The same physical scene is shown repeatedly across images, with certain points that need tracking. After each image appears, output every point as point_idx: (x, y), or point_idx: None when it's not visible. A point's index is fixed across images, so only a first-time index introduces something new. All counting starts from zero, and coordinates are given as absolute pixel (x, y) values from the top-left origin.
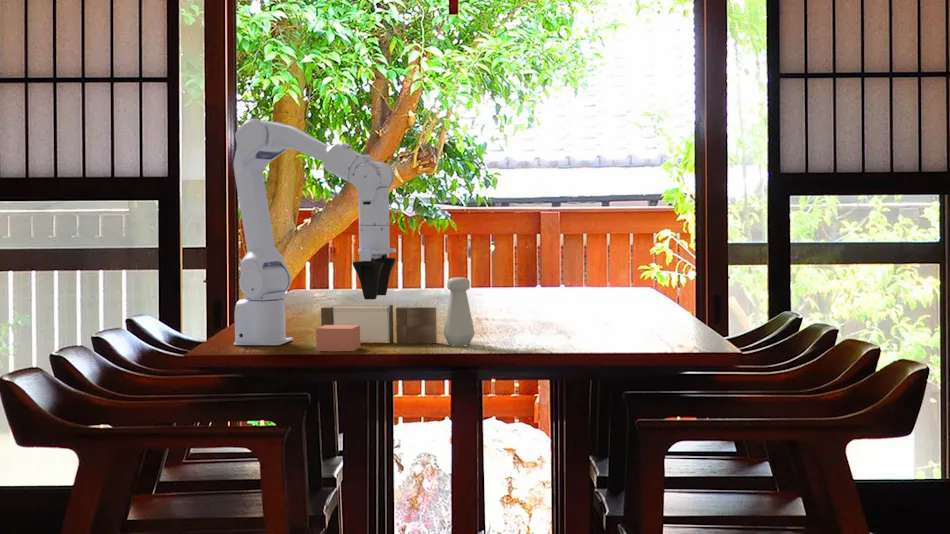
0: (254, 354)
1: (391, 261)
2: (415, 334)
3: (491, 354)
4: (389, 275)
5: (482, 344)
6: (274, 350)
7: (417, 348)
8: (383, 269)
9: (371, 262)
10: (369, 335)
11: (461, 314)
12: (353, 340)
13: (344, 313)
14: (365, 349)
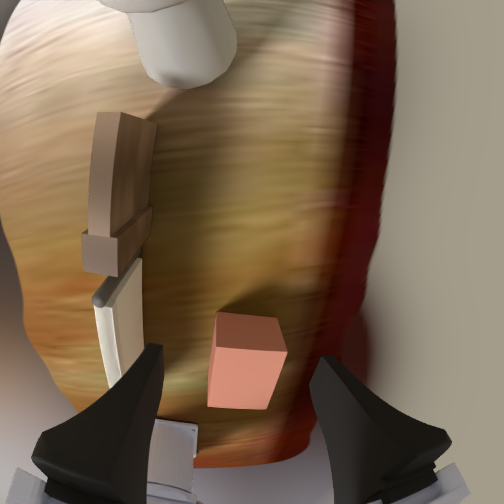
0: (276, 429)
1: (115, 470)
2: (142, 184)
3: (357, 11)
4: (117, 398)
5: None
6: (239, 421)
7: (243, 167)
8: (136, 449)
9: (433, 465)
10: (138, 309)
11: (226, 10)
12: (273, 331)
13: None
14: (245, 297)
